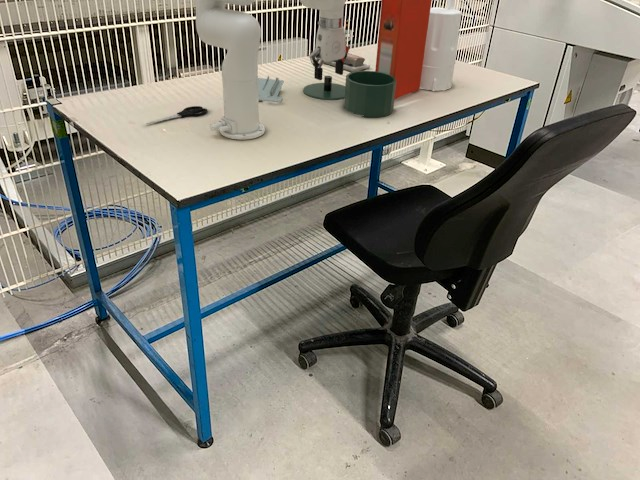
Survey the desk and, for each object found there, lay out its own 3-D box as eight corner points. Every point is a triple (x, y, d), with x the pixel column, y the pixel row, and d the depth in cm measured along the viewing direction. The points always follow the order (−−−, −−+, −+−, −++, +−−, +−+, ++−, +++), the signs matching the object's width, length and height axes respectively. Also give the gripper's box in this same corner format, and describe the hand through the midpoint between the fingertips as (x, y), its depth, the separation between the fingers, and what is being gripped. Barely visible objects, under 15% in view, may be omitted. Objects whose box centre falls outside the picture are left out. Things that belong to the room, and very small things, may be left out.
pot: (369, 121, 158) (372, 89, 152) (333, 107, 167) (335, 76, 161) (402, 110, 167) (406, 79, 161) (366, 98, 176) (369, 68, 170)
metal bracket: (247, 70, 176) (290, 75, 174) (249, 85, 181) (291, 90, 178) (234, 95, 167) (279, 99, 165) (236, 110, 172) (280, 115, 169)
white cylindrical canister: (437, 93, 183) (455, -11, 165) (402, 83, 191) (414, -17, 173) (458, 84, 193) (477, -15, 175) (423, 75, 201) (438, -20, 182)
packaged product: (320, 50, 207) (337, 47, 214) (320, 62, 210) (337, 59, 216) (354, 60, 197) (371, 56, 203) (353, 73, 200) (370, 68, 206)
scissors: (153, 129, 146) (211, 113, 158) (153, 126, 145) (210, 110, 158) (140, 122, 149) (197, 107, 162) (140, 119, 149) (197, 104, 161)
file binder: (372, 95, 178) (382, -6, 160) (400, 85, 189) (412, -11, 171) (391, 101, 174) (404, -3, 156) (419, 90, 185) (433, -8, 167)
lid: (326, 105, 168) (327, 87, 165) (293, 91, 178) (293, 74, 175) (361, 95, 178) (362, 78, 175) (328, 83, 188) (328, 67, 185)
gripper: (319, 28, 158) (317, 84, 168) (358, 21, 168) (354, 74, 178) (303, 24, 163) (302, 78, 172) (341, 17, 173) (339, 69, 182)
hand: (328, 76), depth 175 cm, fingers open, 9 cm apart
